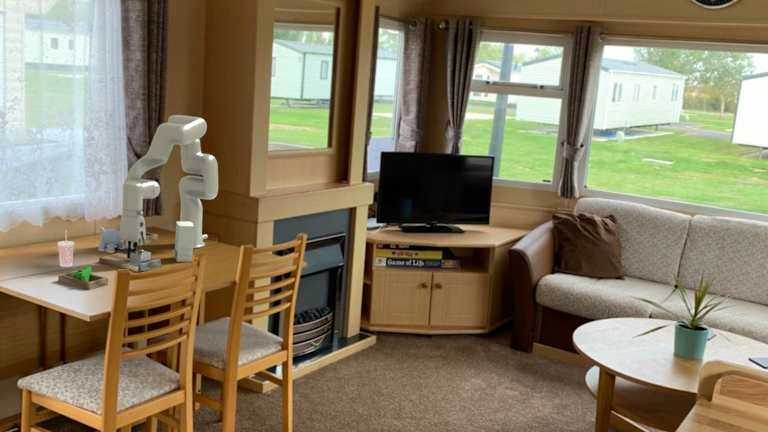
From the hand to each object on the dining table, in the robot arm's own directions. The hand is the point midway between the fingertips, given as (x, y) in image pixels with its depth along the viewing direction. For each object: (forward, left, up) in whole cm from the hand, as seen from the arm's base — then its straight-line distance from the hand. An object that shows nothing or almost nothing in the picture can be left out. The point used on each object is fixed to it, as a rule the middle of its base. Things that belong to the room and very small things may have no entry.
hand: (131, 257), depth 304 cm
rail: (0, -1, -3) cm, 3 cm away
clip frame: (-34, -29, -3) cm, 44 cm away
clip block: (0, +5, -2) cm, 5 cm away
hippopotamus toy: (-14, -22, -3) cm, 26 cm away
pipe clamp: (+29, +5, -3) cm, 30 cm away
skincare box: (-21, +9, -3) cm, 23 cm away
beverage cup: (+16, -18, -3) cm, 24 cm away
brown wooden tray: (+29, +5, -3) cm, 30 cm away
